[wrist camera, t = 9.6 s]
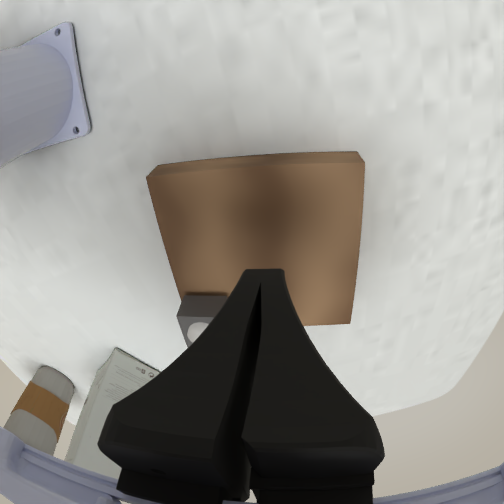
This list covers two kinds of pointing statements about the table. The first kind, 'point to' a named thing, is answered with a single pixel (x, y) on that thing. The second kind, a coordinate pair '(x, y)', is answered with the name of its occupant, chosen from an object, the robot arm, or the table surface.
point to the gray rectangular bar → (197, 314)
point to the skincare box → (105, 410)
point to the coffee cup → (42, 410)
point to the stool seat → (265, 225)
